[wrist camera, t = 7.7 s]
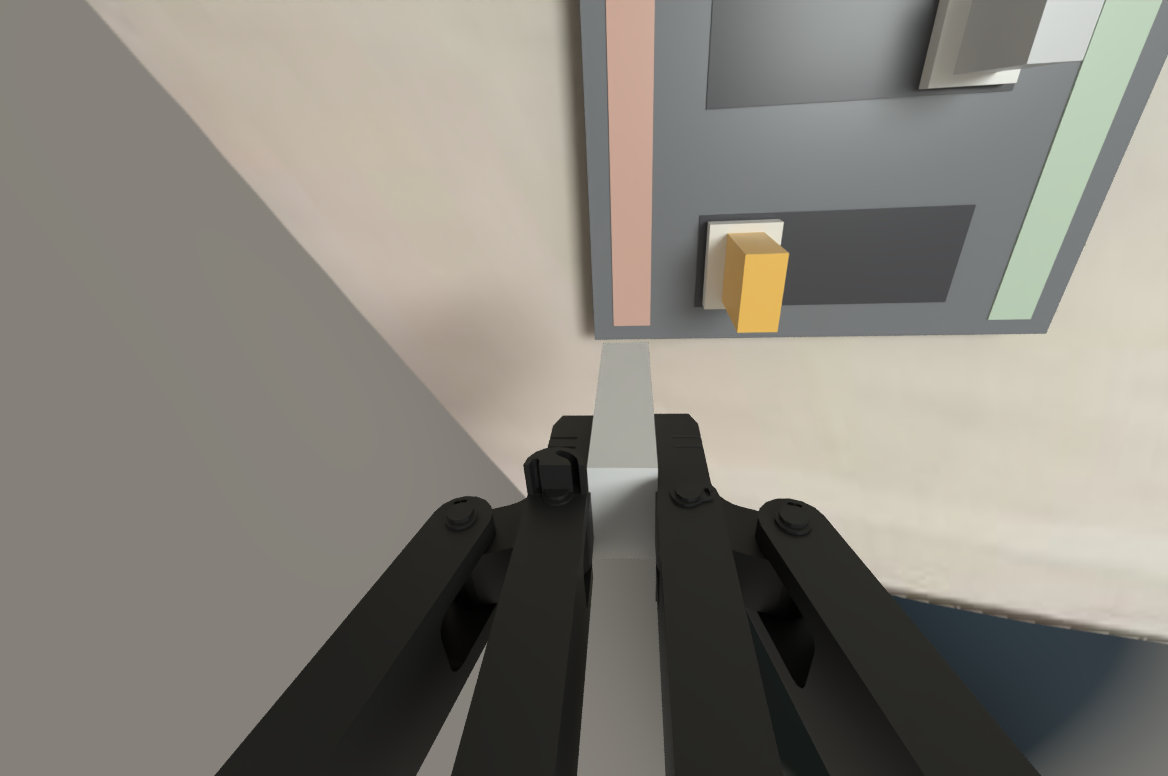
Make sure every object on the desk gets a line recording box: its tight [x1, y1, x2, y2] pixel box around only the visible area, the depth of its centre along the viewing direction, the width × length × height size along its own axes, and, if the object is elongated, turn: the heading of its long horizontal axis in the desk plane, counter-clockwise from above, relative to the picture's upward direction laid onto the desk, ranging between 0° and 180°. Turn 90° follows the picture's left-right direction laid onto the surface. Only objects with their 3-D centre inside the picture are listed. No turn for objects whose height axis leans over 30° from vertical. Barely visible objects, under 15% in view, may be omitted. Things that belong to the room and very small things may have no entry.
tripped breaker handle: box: [702, 219, 789, 333], centre depth 26 cm, size 5×4×6 cm
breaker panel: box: [580, 0, 1168, 340], centre depth 25 cm, size 20×28×8 cm
